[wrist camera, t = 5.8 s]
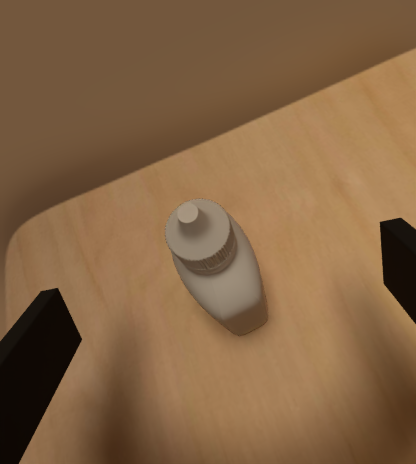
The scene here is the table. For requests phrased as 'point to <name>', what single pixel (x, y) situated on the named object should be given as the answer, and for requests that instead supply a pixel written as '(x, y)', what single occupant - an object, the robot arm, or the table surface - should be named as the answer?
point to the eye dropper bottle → (217, 264)
